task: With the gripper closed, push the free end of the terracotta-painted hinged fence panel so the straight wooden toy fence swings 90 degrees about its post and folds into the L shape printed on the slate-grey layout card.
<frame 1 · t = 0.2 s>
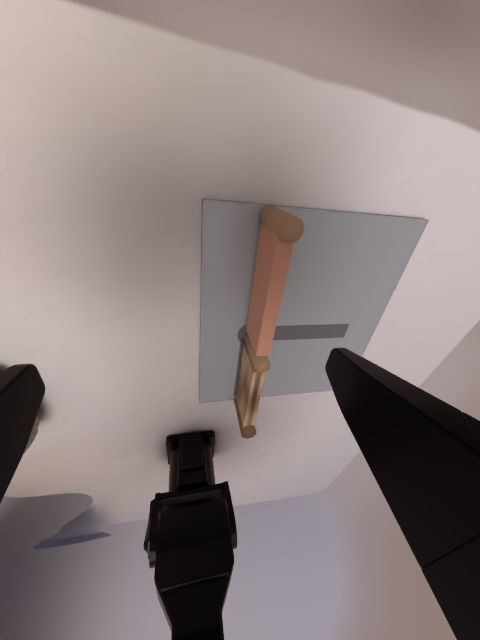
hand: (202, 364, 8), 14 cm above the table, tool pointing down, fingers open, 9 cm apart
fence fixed: (248, 330, 25), resting on layout card
fence panel: (266, 295, 19), point 3 cm above the table, hinge at 0.0°
layout card: (295, 321, 26), on the table
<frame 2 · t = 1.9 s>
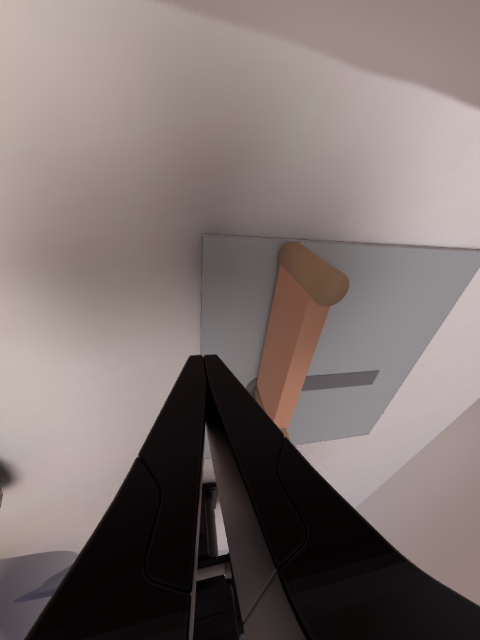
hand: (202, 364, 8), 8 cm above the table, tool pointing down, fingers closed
fence panel: (285, 355, 15), point 3 cm above the table, hinge at 0.0°
layout card: (315, 369, 21), on the table
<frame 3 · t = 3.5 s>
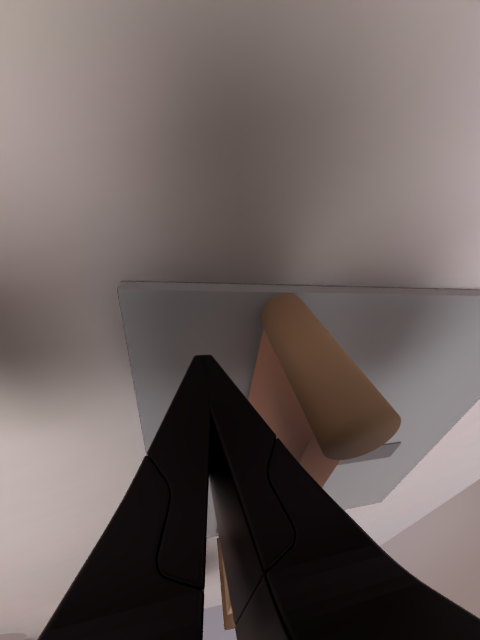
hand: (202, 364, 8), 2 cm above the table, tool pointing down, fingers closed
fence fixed: (237, 461, 15), resting on layout card
fence panel: (270, 467, 9), point 3 cm above the table, hinge at -1.2°, touching gripper
layout card: (314, 443, 16), on the table
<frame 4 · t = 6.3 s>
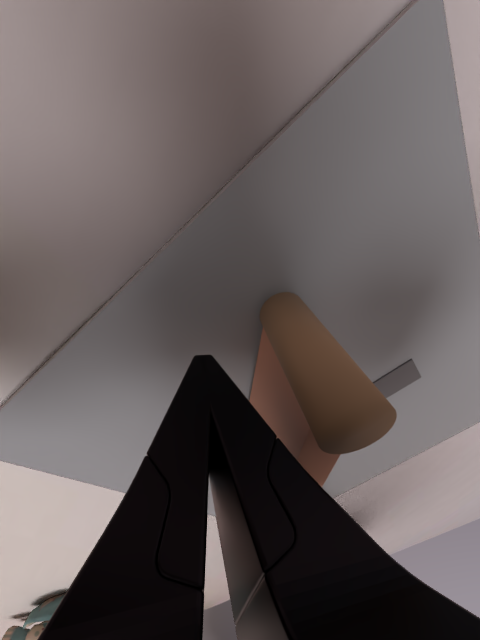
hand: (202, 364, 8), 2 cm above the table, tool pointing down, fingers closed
fence panel: (272, 465, 9), point 3 cm above the table, hinge at -45.5°, touching gripper
stuffed animal: (83, 597, 24), on the table
layout card: (299, 414, 13), on the table
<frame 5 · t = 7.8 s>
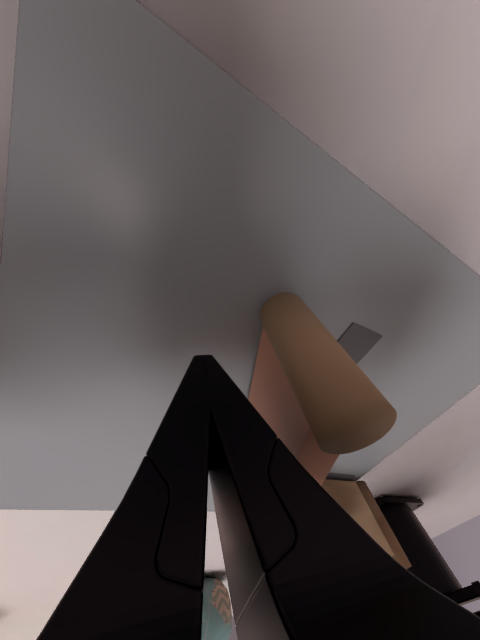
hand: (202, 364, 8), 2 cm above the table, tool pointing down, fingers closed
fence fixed: (239, 462, 15), resting on layout card
fence panel: (270, 465, 9), point 3 cm above the table, hinge at -68.9°, touching gripper
stuffed animal: (180, 583, 28), on the table
layout card: (267, 408, 13), on the table
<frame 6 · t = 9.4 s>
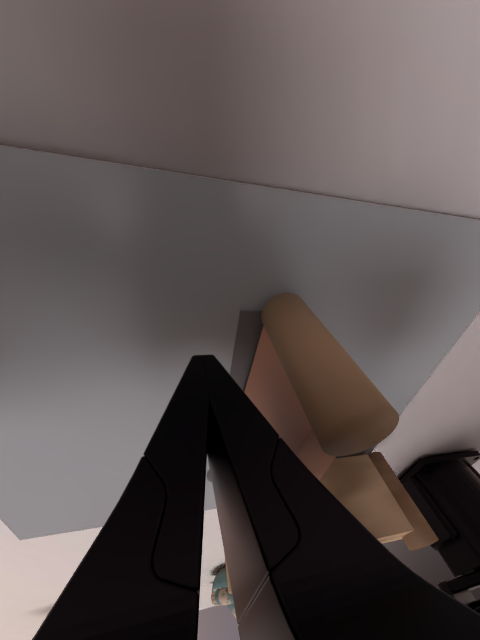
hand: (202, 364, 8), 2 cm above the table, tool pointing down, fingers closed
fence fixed: (227, 461, 15), resting on layout card
fence panel: (262, 465, 9), point 3 cm above the table, hinge at -92.9°, touching gripper
stuffed animal: (248, 562, 30), on the table
layout card: (218, 410, 12), on the table
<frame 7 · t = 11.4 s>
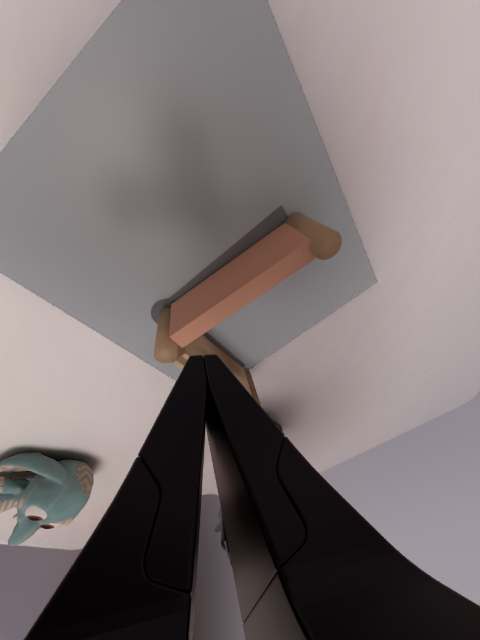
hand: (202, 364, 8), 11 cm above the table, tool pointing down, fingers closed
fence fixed: (168, 309, 19), resting on layout card
fence panel: (234, 286, 16), point 3 cm above the table, hinge at -93.7°
stuffed animal: (44, 466, 28), on the table
layout card: (208, 260, 18), on the table
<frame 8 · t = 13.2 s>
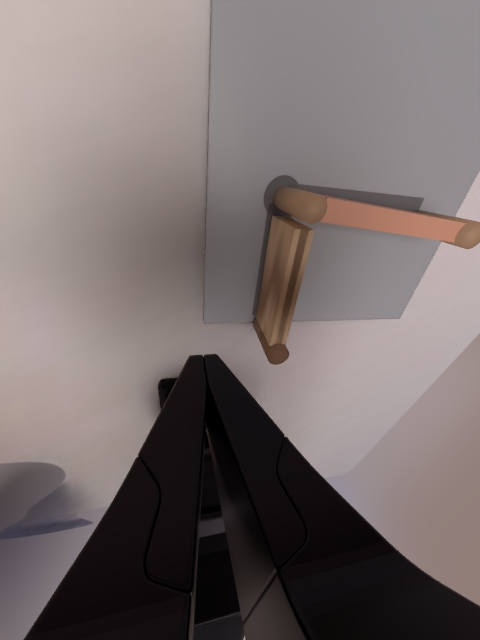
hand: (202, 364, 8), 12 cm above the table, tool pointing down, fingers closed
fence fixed: (279, 196, 17), resting on layout card
fence panel: (377, 216, 15), point 3 cm above the table, hinge at -93.7°
layout card: (347, 187, 17), on the table
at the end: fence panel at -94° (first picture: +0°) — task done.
